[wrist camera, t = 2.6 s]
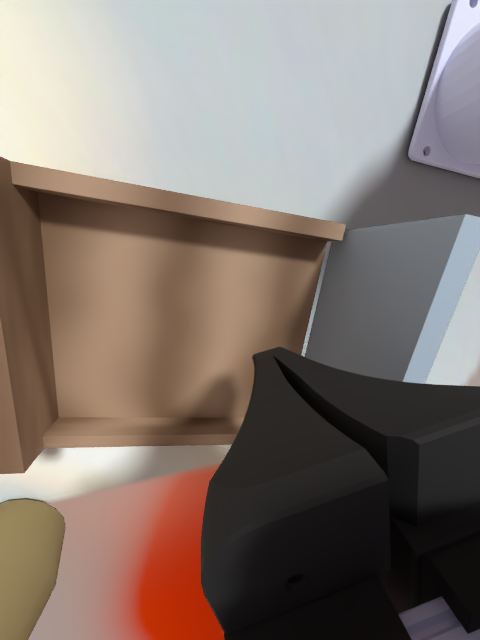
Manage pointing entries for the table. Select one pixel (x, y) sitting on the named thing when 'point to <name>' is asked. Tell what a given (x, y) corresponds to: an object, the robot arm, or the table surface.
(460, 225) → the panel
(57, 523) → the squeeze bottle
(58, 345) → the tray
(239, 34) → the table surface
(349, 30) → the table surface
